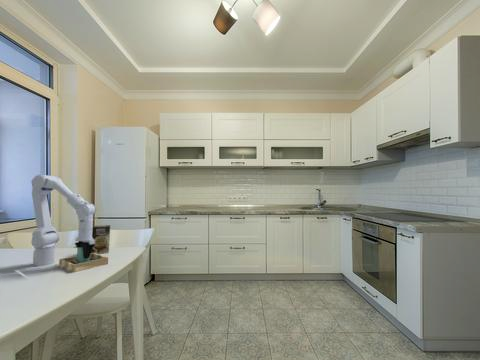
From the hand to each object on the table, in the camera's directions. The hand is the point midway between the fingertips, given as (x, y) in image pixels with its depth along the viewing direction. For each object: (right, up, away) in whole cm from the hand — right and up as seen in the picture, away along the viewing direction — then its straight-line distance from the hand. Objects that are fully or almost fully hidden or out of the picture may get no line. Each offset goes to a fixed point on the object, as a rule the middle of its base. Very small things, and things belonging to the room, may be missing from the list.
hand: (84, 257), depth 114 cm
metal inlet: (0, -4, 0) cm, 4 cm away
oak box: (0, -4, 0) cm, 4 cm away
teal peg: (0, -2, 0) cm, 2 cm away
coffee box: (-6, -6, +23) cm, 24 cm away
